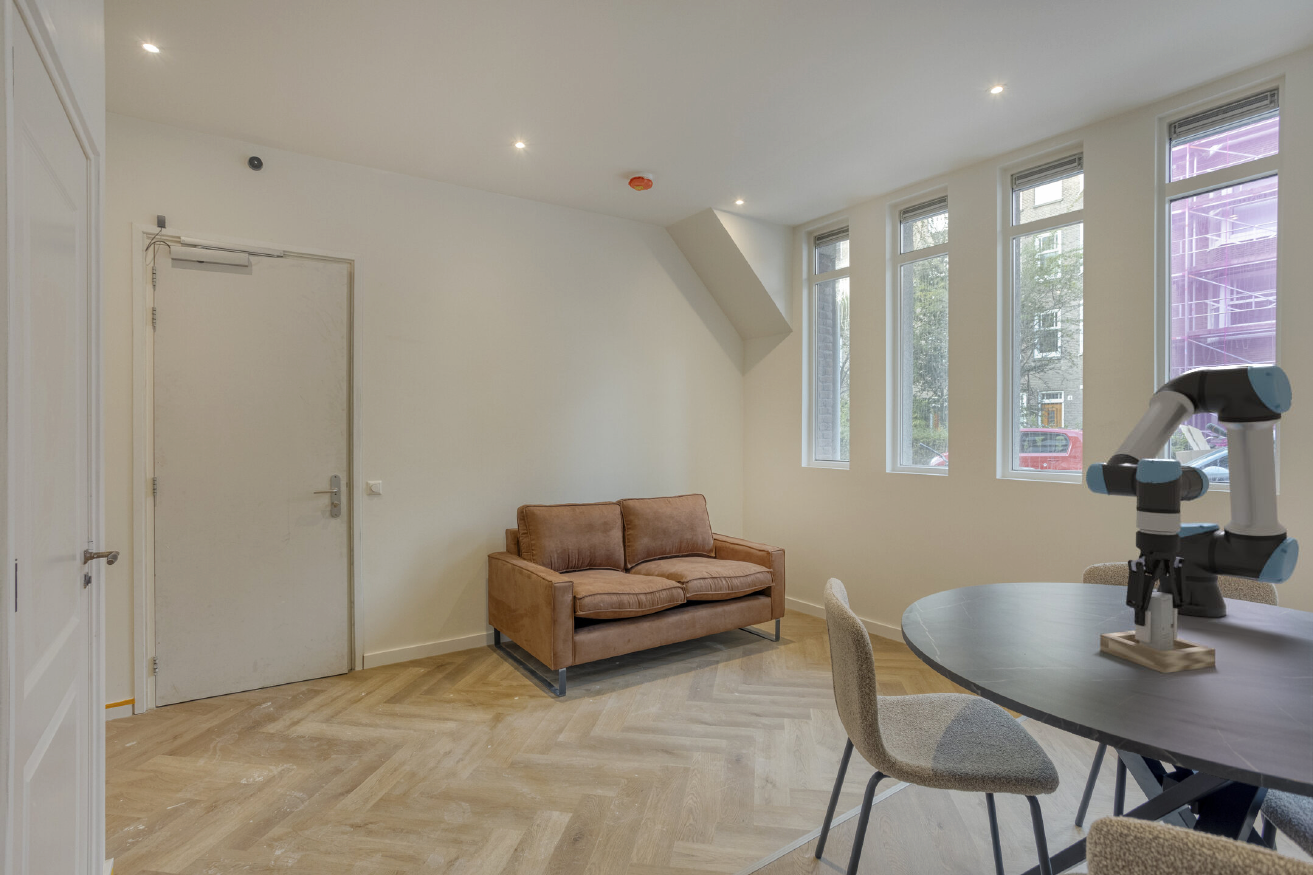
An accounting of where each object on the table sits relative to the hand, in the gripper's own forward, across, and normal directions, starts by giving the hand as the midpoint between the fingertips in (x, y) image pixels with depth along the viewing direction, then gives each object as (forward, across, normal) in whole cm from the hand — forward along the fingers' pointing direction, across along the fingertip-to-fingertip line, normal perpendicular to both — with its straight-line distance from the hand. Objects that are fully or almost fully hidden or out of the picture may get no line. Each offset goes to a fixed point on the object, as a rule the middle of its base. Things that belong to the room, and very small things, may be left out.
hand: (1156, 638), depth 142 cm
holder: (+4, 0, 0) cm, 4 cm away
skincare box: (+3, 0, 0) cm, 3 cm away
